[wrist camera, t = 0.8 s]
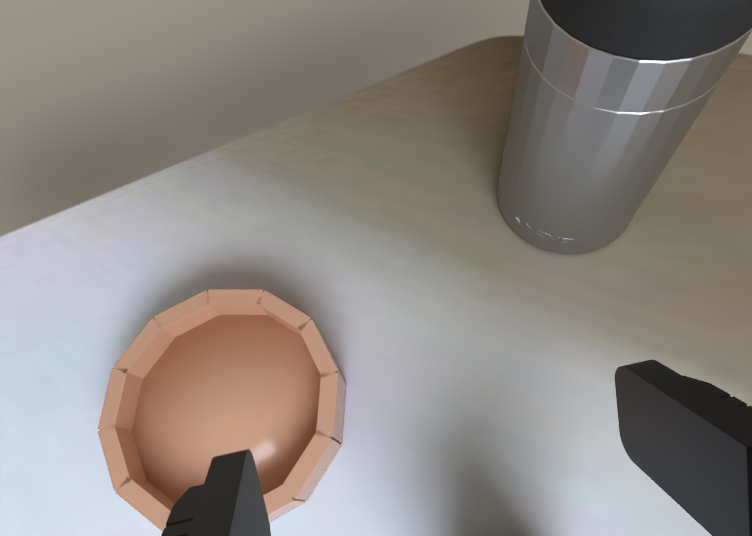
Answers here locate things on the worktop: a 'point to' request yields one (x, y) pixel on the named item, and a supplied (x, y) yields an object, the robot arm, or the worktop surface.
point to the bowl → (222, 401)
